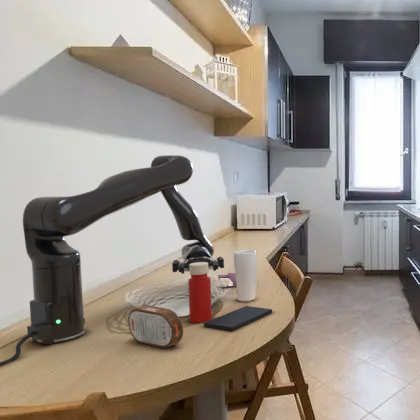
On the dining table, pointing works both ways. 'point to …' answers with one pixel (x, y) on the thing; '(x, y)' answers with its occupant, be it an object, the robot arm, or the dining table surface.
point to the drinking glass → (245, 274)
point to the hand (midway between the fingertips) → (199, 268)
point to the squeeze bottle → (199, 293)
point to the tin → (155, 326)
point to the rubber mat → (238, 318)
